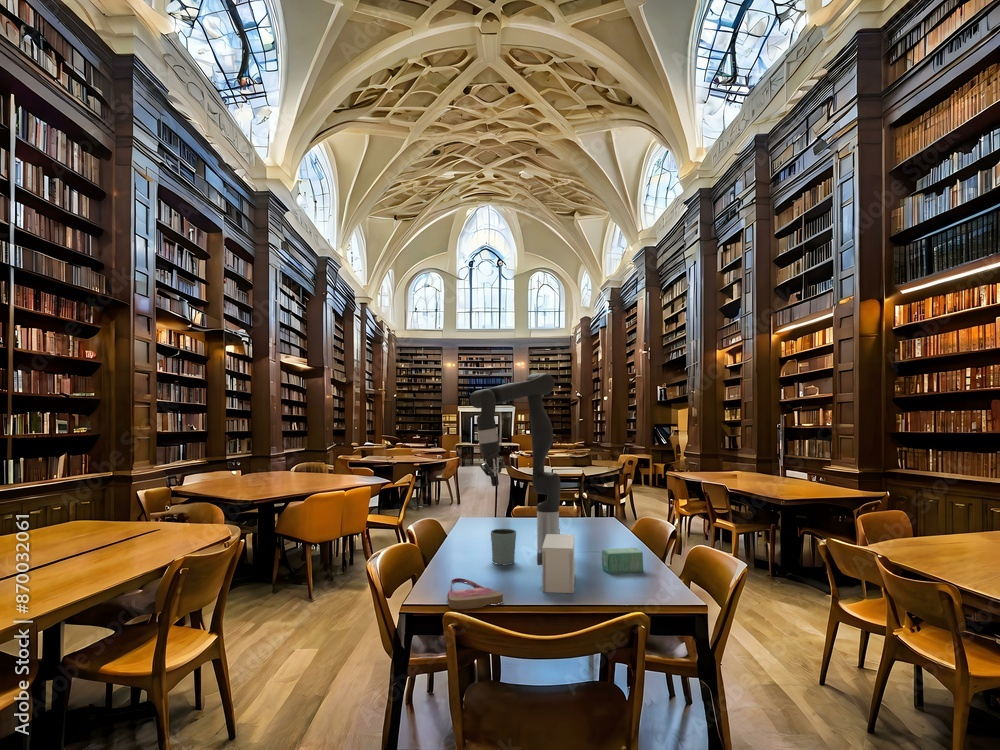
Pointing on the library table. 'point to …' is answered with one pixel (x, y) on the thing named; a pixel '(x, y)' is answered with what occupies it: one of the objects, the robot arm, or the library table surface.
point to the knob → (539, 558)
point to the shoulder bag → (473, 596)
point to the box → (622, 560)
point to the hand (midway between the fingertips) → (495, 485)
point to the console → (558, 563)
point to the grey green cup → (503, 545)
